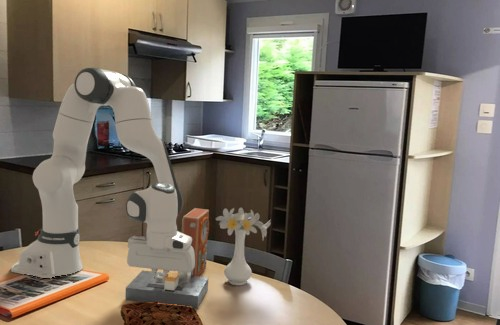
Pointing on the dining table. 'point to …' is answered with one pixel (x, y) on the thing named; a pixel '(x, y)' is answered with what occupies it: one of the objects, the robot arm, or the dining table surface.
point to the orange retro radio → (197, 236)
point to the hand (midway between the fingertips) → (160, 282)
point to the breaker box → (184, 294)
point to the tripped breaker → (171, 281)
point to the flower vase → (240, 242)
